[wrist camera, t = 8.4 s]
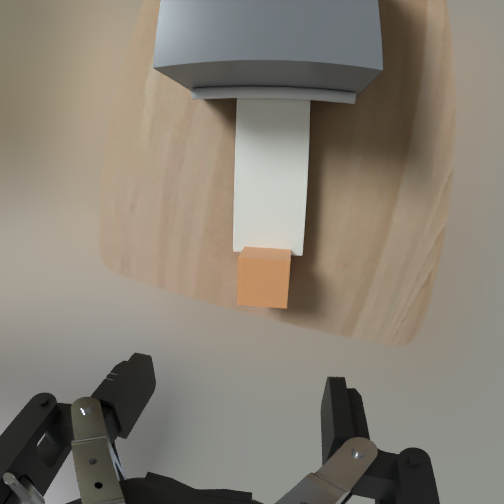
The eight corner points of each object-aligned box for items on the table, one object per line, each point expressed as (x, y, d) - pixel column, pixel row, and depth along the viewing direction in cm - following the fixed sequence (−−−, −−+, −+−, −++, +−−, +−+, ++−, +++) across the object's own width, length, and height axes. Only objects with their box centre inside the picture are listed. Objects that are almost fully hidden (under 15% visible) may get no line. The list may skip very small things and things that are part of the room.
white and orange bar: (242, 68, 24) (231, 50, 20) (309, 69, 24) (312, 51, 19) (236, 281, 30) (225, 303, 25) (298, 285, 29) (299, 309, 25)
